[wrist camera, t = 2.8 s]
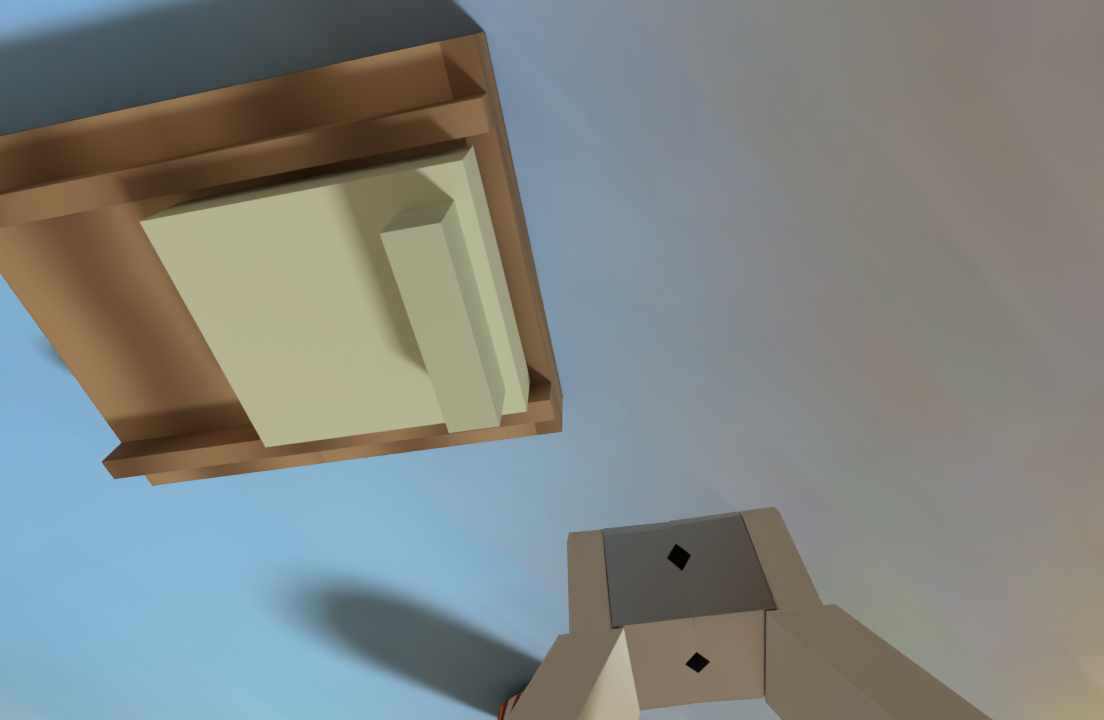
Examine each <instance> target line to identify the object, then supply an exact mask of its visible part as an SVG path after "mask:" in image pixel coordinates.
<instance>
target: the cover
mask: <svg viewBox="0 0 1104 720" xmlns="http://www.w3.org/2000/svg"><path fill="white" fill-rule="evenodd" d="M140 224H141V226H142V227H143V229H144V231H145V233H146V234H147V236H148V238H149V240H150V242H151V243H152V245H153V247H154V249H155V251H156V252H157V254H158V256H159V258H160V260H161V261H162V263H163V265H164V267H165V268H166V270H167V272H168V274H169V276H170V277H171V279H172V281H173V283H174V285H175V286H176V288H177V290H178V292H179V294H180V295H181V297H182V299H183V301H184V302H185V304H186V306H187V308H188V310H189V311H190V313H191V315H192V317H193V319H194V320H195V322H196V324H197V326H198V328H199V329H200V331H201V333H202V335H203V336H204V338H205V340H206V342H207V344H208V345H209V347H210V349H211V351H212V353H213V354H214V356H215V358H216V360H217V362H218V363H219V365H220V367H221V369H222V370H223V372H224V374H225V376H226V378H227V379H228V381H229V383H230V385H231V387H232V388H233V390H234V392H235V394H236V396H237V397H238V399H239V401H240V403H241V405H242V406H243V408H244V410H245V412H246V413H247V415H248V417H249V419H250V421H251V422H252V424H253V426H254V428H255V430H256V431H257V433H258V435H259V437H260V439H261V440H262V442H263V444H264V446H265V447H272V446H279V445H287V444H294V443H301V442H309V441H316V440H323V439H331V438H338V437H345V436H352V435H360V434H367V433H374V432H382V431H389V430H396V429H404V428H411V427H418V426H425V425H433V424H440V423H446V426H447V429H448V432H449V433H454V432H461V431H469V430H476V429H484V428H491V427H499V426H500V422H501V416H502V415H506V414H513V413H520V412H527V404H528V395H529V385H530V377H529V373H528V369H527V365H526V361H525V357H524V353H523V348H522V344H521V340H520V336H519V332H518V328H517V324H516V320H515V316H514V311H513V307H512V303H511V299H510V295H509V291H508V287H507V283H506V279H505V274H504V270H503V266H502V262H501V258H500V254H499V250H498V246H497V242H496V238H495V233H494V229H493V225H492V221H491V217H490V213H489V209H488V205H487V201H486V196H485V192H484V188H483V184H482V180H481V176H480V172H479V168H478V164H477V159H476V155H475V151H474V147H473V146H468V147H463V148H458V149H452V150H447V151H442V152H437V153H432V154H427V155H421V156H416V157H411V158H406V159H401V160H395V161H390V162H385V163H380V164H375V165H370V166H364V167H359V168H354V169H349V170H344V171H338V172H333V173H328V174H323V175H318V176H313V177H307V178H302V179H297V180H292V181H287V182H282V183H276V184H271V185H266V186H261V187H256V188H250V189H245V190H240V191H235V192H230V193H225V194H219V195H214V196H209V197H204V198H199V199H193V200H188V201H183V202H179V203H177V204H175V205H173V206H171V207H169V208H167V209H165V210H162V211H160V212H158V213H156V214H154V215H152V216H150V217H148V218H146V219H144V220H142V221H140Z"/></svg>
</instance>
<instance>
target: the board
mask: <svg viewBox="0 0 1104 720" xmlns="http://www.w3.org/2000/svg"><path fill="white" fill-rule="evenodd" d="M468 146H473V147H474V151H475V155H476V159H477V164H478V168H479V172H480V176H481V180H482V184H483V188H484V192H485V196H486V201H487V205H488V209H489V213H490V217H491V221H492V225H493V229H494V233H495V238H496V242H497V246H498V250H499V254H500V258H501V262H502V266H503V270H504V274H505V279H506V283H507V287H508V291H509V295H510V299H511V303H512V307H513V311H514V316H515V320H516V324H517V328H518V332H519V336H520V340H521V344H522V348H523V353H524V357H525V361H526V365H527V369H528V373H529V377H530V385H529V395H528V404H527V412H520V413H513V414H506V415H502V416H501V422H500V426H499V427H491V428H484V429H476V430H469V431H461V432H454V433H449V432H448V429H447V426H446V423H440V424H433V425H425V426H418V427H411V428H404V429H396V430H389V431H382V432H374V433H367V434H360V435H352V436H345V437H338V438H331V439H323V440H316V441H309V442H301V443H294V444H287V445H279V446H272V447H265V446H264V444H263V442H262V440H261V439H260V437H259V435H258V433H257V431H256V430H255V428H254V426H253V424H252V422H251V421H250V419H249V417H248V415H247V413H246V412H245V410H244V408H243V406H242V405H241V403H240V401H239V399H238V397H237V396H236V394H235V392H234V390H233V388H232V387H231V385H230V383H229V381H228V379H227V378H226V376H225V374H224V372H223V370H222V369H221V367H220V365H219V363H218V362H217V360H216V358H215V356H214V354H213V353H212V351H211V349H210V347H209V345H208V344H207V342H206V340H205V338H204V336H203V335H202V333H201V331H200V329H199V328H198V326H197V324H196V322H195V320H194V319H193V317H192V315H191V313H190V311H189V310H188V308H187V306H186V304H185V302H184V301H183V299H182V297H181V295H180V294H179V292H178V290H177V288H176V286H175V285H174V283H173V281H172V279H171V277H170V276H169V274H168V272H167V270H166V268H165V267H164V265H163V263H162V261H161V260H160V258H159V256H158V254H157V252H156V251H155V249H154V247H153V245H152V243H151V242H150V240H149V238H148V236H147V234H146V233H145V231H144V229H143V227H142V226H141V224H140V221H142V220H144V219H146V218H148V217H150V216H152V215H154V214H156V213H158V212H160V211H162V210H165V209H167V208H169V207H171V206H173V205H175V204H177V203H179V202H183V201H188V200H193V199H199V198H204V197H209V196H214V195H219V194H225V193H230V192H235V191H240V190H245V189H250V188H256V187H261V186H266V185H271V184H276V183H282V182H287V181H292V180H297V179H302V178H307V177H313V176H318V175H323V174H328V173H333V172H338V171H344V170H349V169H354V168H359V167H364V166H370V165H375V164H380V163H385V162H390V161H395V160H401V159H406V158H411V157H416V156H421V155H427V154H432V153H437V152H442V151H447V150H452V149H458V148H463V147H468ZM0 273H1V275H2V276H3V278H4V279H5V280H6V282H7V283H8V285H9V286H10V287H11V289H12V290H13V292H14V293H15V294H16V296H17V297H18V299H19V300H20V301H21V303H22V304H23V306H24V307H25V308H26V310H27V311H28V313H29V314H30V315H31V317H32V318H33V320H34V321H35V322H36V324H37V325H38V327H39V328H40V329H41V331H42V332H43V334H44V335H45V336H46V338H47V339H48V341H49V342H50V343H51V345H52V346H53V347H54V349H55V350H56V352H57V353H58V354H59V356H60V357H61V359H62V360H63V361H64V363H65V364H66V366H67V367H68V368H69V370H70V371H71V373H72V374H73V375H74V377H75V378H76V380H77V381H78V382H79V384H80V385H81V387H82V388H83V389H84V391H85V392H86V394H87V395H88V396H89V398H90V399H91V401H92V402H93V403H94V405H95V406H96V408H97V409H98V410H99V412H100V413H101V415H102V416H103V417H104V419H105V420H106V421H107V423H108V424H109V426H110V427H111V428H112V430H113V431H114V433H115V434H116V435H117V437H118V438H119V440H120V441H121V442H122V443H121V444H120V445H119V446H118V447H117V448H116V449H115V450H114V451H113V452H111V453H110V454H109V455H108V456H107V457H106V458H105V459H104V460H103V461H102V463H103V465H104V466H105V467H106V469H107V470H108V471H109V473H110V474H111V475H112V477H113V478H114V479H118V478H126V477H133V476H140V475H145V476H146V477H147V479H148V480H149V482H150V483H151V484H152V486H154V485H161V484H169V483H176V482H184V481H191V480H199V479H207V478H214V477H222V476H229V475H237V474H244V473H252V472H260V471H267V470H275V469H282V468H290V467H298V466H305V465H313V464H320V463H328V462H335V461H343V460H351V459H358V458H366V457H373V456H381V455H388V454H396V453H404V452H411V451H419V450H426V449H434V448H442V447H449V446H457V445H464V444H472V443H479V442H487V441H495V440H502V439H510V438H517V437H525V436H532V435H540V434H548V433H555V432H562V403H563V395H562V391H561V386H560V381H559V377H558V372H557V367H556V363H555V358H554V353H553V348H552V344H551V339H550V334H549V330H548V325H547V320H546V316H545V311H544V306H543V302H542V297H541V292H540V287H539V283H538V278H537V273H536V269H535V264H534V259H533V255H532V250H531V245H530V240H529V236H528V231H527V226H526V222H525V217H524V212H523V208H522V203H521V198H520V194H519V189H518V184H517V179H516V175H515V170H514V165H513V161H512V156H511V151H510V147H509V142H508V137H507V133H506V128H505V123H504V118H503V114H502V109H501V104H500V100H499V95H498V90H497V86H496V81H495V76H494V72H493V67H492V62H491V57H490V53H489V48H488V43H487V39H486V34H485V32H480V33H476V34H471V35H467V36H462V37H457V38H453V39H448V40H443V41H439V42H434V43H430V44H425V45H420V46H416V47H411V48H406V49H402V50H397V51H393V52H388V53H383V54H379V55H374V56H369V57H365V58H360V59H355V60H351V61H346V62H342V63H337V64H332V65H328V66H323V67H318V68H314V69H309V70H305V71H300V72H295V73H291V74H286V75H281V76H277V77H272V78H268V79H263V80H258V81H254V82H249V83H244V84H240V85H235V86H230V87H226V88H221V89H217V90H212V91H207V92H203V93H198V94H193V95H189V96H184V97H180V98H175V99H170V100H166V101H161V102H156V103H152V104H147V105H142V106H138V107H133V108H129V109H124V110H119V111H115V112H110V113H105V114H101V115H96V116H92V117H87V118H82V119H78V120H73V121H68V122H64V123H59V124H55V125H50V126H45V127H41V128H36V129H31V130H27V131H22V132H17V133H13V134H8V135H4V136H0Z"/></svg>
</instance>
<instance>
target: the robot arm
mask: <svg viewBox="0 0 1104 720" xmlns="http://www.w3.org/2000/svg"><path fill="white" fill-rule="evenodd" d="M567 557H568V596H569V634H562V635H559V636H558V637H557V639H556V641H555V642H554V644H553V645H552V647H551V649H550V650H549V652H548V653H547V655H546V657H545V658H544V660H543V661H542V663H541V665H540V666H539V668H538V670H537V671H536V673H535V674H534V676H533V678H532V679H531V681H530V682H529V684H528V686H527V687H526V689H525V690H524V692H523V694H522V695H521V697H520V699H519V700H518V702H517V703H516V705H515V707H514V708H513V710H512V711H511V713H510V715H509V716H508V718H507V719H506V720H639V717H640V711H639V710H647V709H654V708H662V707H670V706H678V705H685V704H693V703H701V702H716V701H730V700H744V699H758V698H765V702H766V703H767V704H768V705H769V706H770V707H771V708H772V709H773V710H774V712H775V713H776V714H777V715H778V716H779V717H780V718H781V719H782V720H992V719H991V718H989V717H988V716H987V715H985V714H984V713H983V712H981V711H980V710H978V709H977V708H976V707H974V706H973V705H972V704H970V703H969V702H968V701H966V700H965V699H963V698H962V697H961V696H959V695H958V694H957V693H955V692H954V691H953V690H951V689H950V688H948V687H947V686H946V685H944V684H943V683H942V682H940V681H939V680H938V679H936V678H935V677H933V676H932V675H931V674H929V673H928V672H927V671H925V670H924V669H923V668H921V667H920V666H918V665H917V664H916V663H914V662H913V661H912V660H910V659H909V658H908V657H906V656H905V655H903V654H902V653H901V652H899V651H898V650H897V649H895V648H894V647H893V646H891V645H890V644H888V643H887V642H886V641H884V640H883V639H882V638H880V637H879V636H878V635H876V634H875V633H874V632H872V631H871V630H869V629H868V628H867V627H865V626H864V625H863V624H861V623H860V622H859V621H857V620H856V619H854V618H853V617H852V616H850V615H849V614H848V613H846V612H845V611H844V610H842V609H841V608H839V607H838V606H837V605H835V604H830V605H823V604H822V602H821V600H820V598H819V596H818V593H817V591H816V589H815V587H814V585H813V583H812V581H811V578H810V576H809V574H808V572H807V570H806V568H805V566H804V564H803V561H802V559H801V557H800V555H799V553H798V551H797V549H796V546H795V544H794V542H793V540H792V538H791V536H790V534H789V532H788V529H787V527H786V525H785V523H784V521H783V519H782V517H781V514H780V512H779V511H778V510H777V509H776V508H774V507H769V508H761V509H754V510H747V511H739V512H738V513H737V512H730V513H723V514H716V515H709V516H702V517H695V518H688V519H680V520H673V521H669V522H663V523H653V524H644V525H634V526H624V527H614V528H605V529H601V530H591V531H582V532H572V533H569V535H568V540H567Z"/></svg>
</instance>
